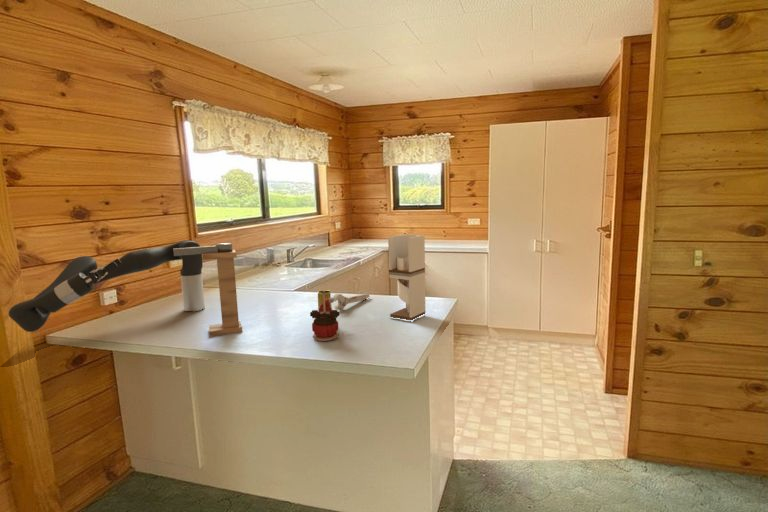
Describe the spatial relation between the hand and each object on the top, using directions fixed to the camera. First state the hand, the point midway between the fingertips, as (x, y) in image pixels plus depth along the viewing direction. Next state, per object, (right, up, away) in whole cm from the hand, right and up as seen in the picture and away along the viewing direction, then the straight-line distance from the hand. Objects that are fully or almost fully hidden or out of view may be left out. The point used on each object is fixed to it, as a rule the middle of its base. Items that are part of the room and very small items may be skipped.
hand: (117, 262), depth 156 cm
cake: (+74, -29, +6) cm, 80 cm away
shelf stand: (+32, -28, +18) cm, 46 cm away
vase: (+72, -26, +21) cm, 80 cm away
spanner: (+26, +3, +11) cm, 28 cm away
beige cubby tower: (+106, -24, +30) cm, 113 cm away
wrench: (+81, -22, +52) cm, 98 cm away
